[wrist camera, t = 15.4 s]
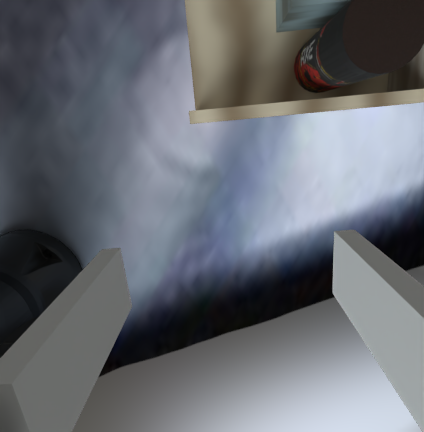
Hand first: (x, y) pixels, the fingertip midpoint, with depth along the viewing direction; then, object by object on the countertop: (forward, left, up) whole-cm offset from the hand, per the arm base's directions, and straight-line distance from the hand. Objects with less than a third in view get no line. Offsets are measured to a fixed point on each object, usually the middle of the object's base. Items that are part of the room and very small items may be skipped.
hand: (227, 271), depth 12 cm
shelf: (+9, +13, -29) cm, 33 cm away
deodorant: (+12, +11, -28) cm, 33 cm away
